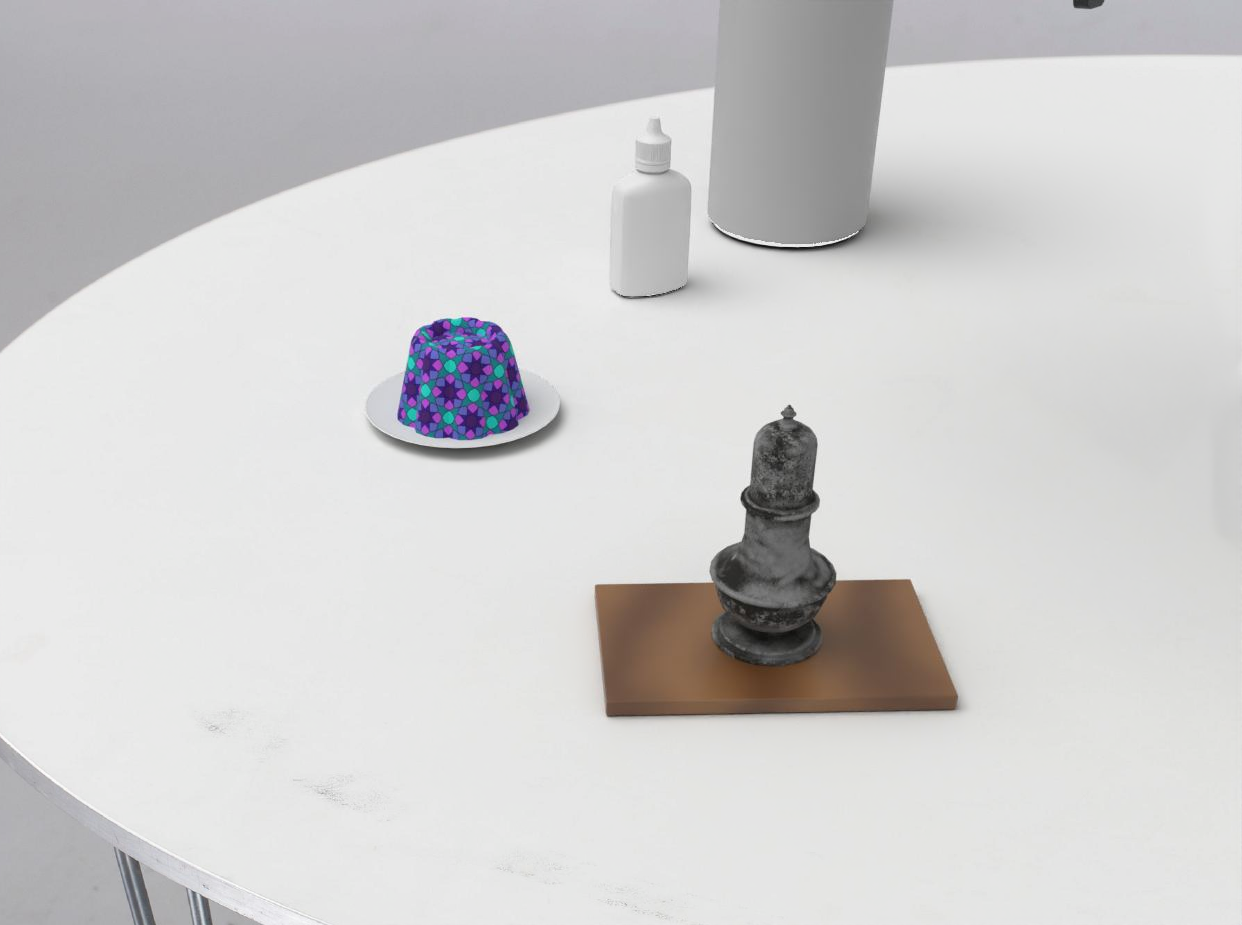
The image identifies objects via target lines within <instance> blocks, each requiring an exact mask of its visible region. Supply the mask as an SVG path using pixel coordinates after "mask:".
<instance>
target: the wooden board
mask: <svg viewBox="0 0 1242 925" xmlns="http://www.w3.org/2000/svg"><path fill="white" fill-rule="evenodd" d="M594 604H595V613H596V614H595V615H596V626H597V634H598V647H599V658H600V665H601V667H600V668H601V678H602V688H603V699H604V709H605V715H606V716H607V717H609V716H611V717H612V716H614V717H615V716H617V717H618V716H663V715H664V716H666V715H667V716H669V715H670V716H671V715H714V714H715V715H716V714H717V715H718V714H719V715H720V714H761V713H762V714H766V713H767V714H771V713H773V714H775V713H776V714H777V713H824V712H825V713H827V712H830V713H831V712H833V713H834V712H878V711H884V712H885V711H932V710H934V711H935V710H936V711H937V710H956V709H957V704H958V698H959V695H958V692H957V690H956V687H955V685H954V683H953V679H952V677H951V675H950V673H949V670H948V668H947V666H946V663H945V661H944V658H943V656H942V653H941V651H940V648H939V646H938V643H937V641H936V639H935V636H934V634H933V631H932V629H931V626H930V623H929V622H928V619H927V616H926V614H925V612H924V610H923V607H922V604H921V602H920V599H919V597H918V594H917V592H916V589H915V586H914V585H913V583H912V580H911V578H899V579H897V578H895V579H839V580H837V579H836V584H835V586H834V587H833V589H832V591H831V592H830V593H829V594H827V599H826V600H825V602H824V603H823V605H822V607H821V608H820V610H819V611H818V613H817V614H816V616H815V617H814V618H813V619H814V621H815V622H816V623H817V624H818V625H819V627H820V629H821V632H822V644H821V646H820V648H819V649H818V651H817V652H816V653H815V654H814V655H812V656H811V657H810V658H808V659H806V660H803V661H801V662H799V663H795V664H790V665H786V666H762V665H754V664H750V663H746V662H743V661H740V660H737V659H735V658H733V657H731V656H729V655H727V654H726V653H725V652H723V651H722V650H721V649H719V647H718V646H717V645H716V643H715V642H714V641H713V637H712V633H711V630H712V625H713V622H714V621H715V619H716V618H717V616H718V615H720V614H721V613H723V612H724V611H725V610H724V609H723V607H722V605H721V603H720V600H719V597H718V595H717V591H716V588H715V583H714V582H713V581H712V582H661V583H660V582H659V583H657V582H654V583H600V584H599V583H597V584H594Z"/></svg>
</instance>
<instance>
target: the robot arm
mask: <svg viewBox="0 0 1242 925" xmlns="http://www.w3.org/2000/svg"><path fill="white" fill-rule="evenodd" d="M1105 1H1106V0H1072V6H1073V8H1074V9H1079V10H1080V9H1082V10H1093V9H1097V8H1099V7H1102V6H1103V5H1104V3H1105Z"/></svg>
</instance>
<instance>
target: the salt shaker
mask: <svg viewBox="0 0 1242 925" xmlns="http://www.w3.org/2000/svg"><path fill="white" fill-rule="evenodd" d="M780 415H781V416H782V418H780V419H776V420H773V421H770V422H769V423H766V424H765V425H762V427H761V428H760V429H759V430H758V431H757V432H756V433H755V436H754V440H753V444H752V445H753V448H752V458H751V470H750V481H749V485H747V486H746V487H745V488H744V489H743V490H742V491H741V493H740V498H739V499H740V503H741V506H743V508H744V509H745V518H744V519H745V520H744V530H743V536H742V538H741V541H737V542H736V543H733V544H730V545H728V546H726V547H724V548H722V550H720V551H719V552H717V553H716V554H715V556H714V557H713V558H712V559H711V561H710V566H709V575H710V577H711V581H712V582H714V583H715V588H716V591H717V595H718V597H719V600H720V603H721V605H722V607H723V609H724V610H725V611H724V612H723V613H721V614H720V615H718V616H717V618H716V619H715V621H714V622H713V625H712V630H711V633H712V637H713V641H714V642H715V643H716V645H717V646H718V647H719V649H721V650H722V651H723V652H725V653H726V654H727V655H729V656H731V657H733V658H735V659H737V660H740V661H743V662H746V663H750V664H754V665H762V666H786V665H790V664H795V663H799V662H801V661H803V660H806V659H808V658H810V657H811V656H812V655H814V654H815V653H816V652H817V651H818V649H819V648H820V646H821V644H822V632H821V629H820V627H819V625H818V624H817V623H816V622H815V621H814V619H813V618H814V617H815V616H816V614H817V613H818V611H819V610H820V608H821V607H822V605H823V603H824V602H825V600H826V599H827V594H829V593H830V592H831V591H832V589H833V587H834V586H835V584H836V580H837V574H838V573H837V571H836V569H835V567H834V564H833V563H832V562H831V560H829V559H828V558H827V556H825V555H824V554H823V553H821V552H819V551H818V550H816V549H815V548H812V547H811V543H810V532H811V522H812V515H813V514H814V513H816V512H817V511H818V509H819V508H820V505H821V504H820V503H821V499H820V496H819V494H818V493H817V492H816V491H815V490H814V482H815V472H816V464H817V455H818V447H819V446H818V437H817V436H816V434H815V431H813V429H812V428H811V427H810V426H808V425H807V424H805V423H803V422H802V421H798V420H796V419H794V418H795V417H796V416H797V415H798V414H797V412H796V411H795V409H794V407H793V406H792V405H791V404H788V405H787V406H786V407H784V409H783V410H782V411H781V412H780Z"/></svg>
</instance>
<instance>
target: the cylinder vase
mask: <svg viewBox="0 0 1242 925" xmlns="http://www.w3.org/2000/svg"><path fill="white" fill-rule="evenodd" d="M893 8H894V0H719V9H718V10H719V11H718V24H717V25H718V26H717V42H716V59H715V60H716V62H715V74H714V75H715V77H714V95H713V108H712V109H713V111H712V128H711V129H712V130H711V144H710V160H709V161H710V163H709V176H708V177H709V178H708V193H707V194H708V195H707V216H708V215H709V216H708V218H709V217H710V219H711V220H712V221H713V222H714V223H715V224H717V225H718V226H719V227H720V228H721V229H723V230H725V231H727V232H730V233H733V234H735V235H740V236H742V237H744V238H748V239H754V240H761V241H765V242H775V243H781V244H813V243H814V244H816V243H820V242H821V243H822V242H829V241H835V240H839V239H842V238H845V237H848V236H849V235H852V234H853V233H856V232H857V231H859V230H860V229H861V230H862V229H863V228H864V227H865V225H866V223H867V220H868V214H869V206H870V200H871V199H870V198H871V190H872V182H873V175H874V174H873V172H874V166H875V158H876V150H877V149H876V148H877V140H878V134H879V133H878V132H879V125H880V124H879V123H880V118H881V116H880V115H881V108H882V99H883V92H884V84H885V83H884V82H885V75H886V66H887V59H888V58H887V57H888V50H889V43H890V42H889V41H890V33H891V26H892V17H893ZM710 219H709V220H710ZM864 224H865V225H864ZM863 226H864V227H863ZM862 227H863V228H862Z"/></svg>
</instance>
